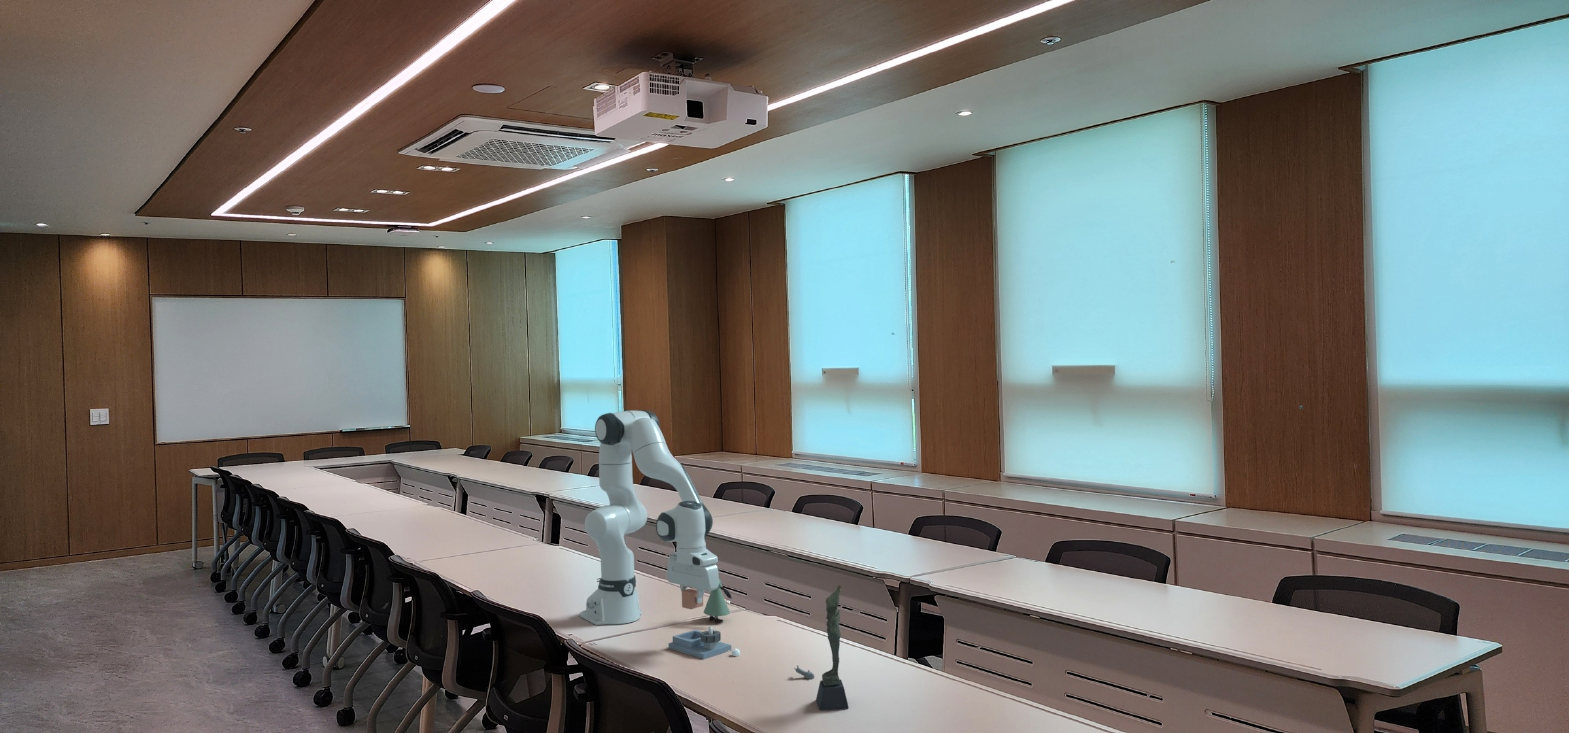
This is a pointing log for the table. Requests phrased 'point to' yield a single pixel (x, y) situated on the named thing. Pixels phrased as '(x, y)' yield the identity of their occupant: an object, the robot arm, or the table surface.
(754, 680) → the table surface
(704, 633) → the wheel
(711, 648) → the chassis
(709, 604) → the character figurine
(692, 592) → the brown small block
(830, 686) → the statue
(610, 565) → the robot arm
